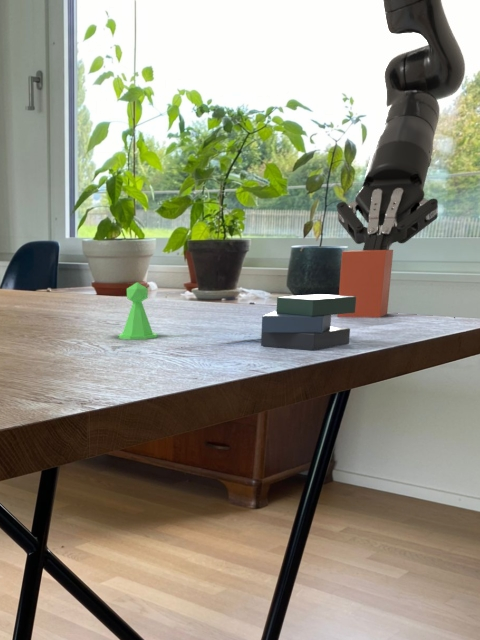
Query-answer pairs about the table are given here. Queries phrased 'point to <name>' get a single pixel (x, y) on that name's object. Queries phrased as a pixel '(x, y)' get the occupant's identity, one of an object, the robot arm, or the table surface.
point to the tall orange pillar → (366, 281)
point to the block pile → (307, 322)
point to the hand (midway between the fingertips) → (372, 263)
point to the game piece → (137, 315)
